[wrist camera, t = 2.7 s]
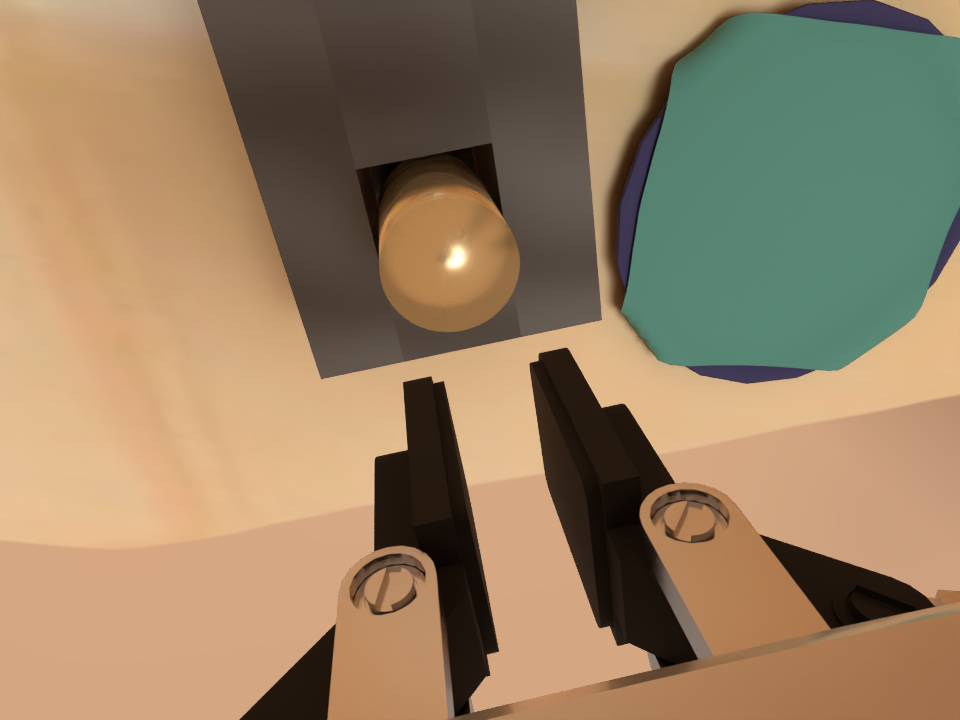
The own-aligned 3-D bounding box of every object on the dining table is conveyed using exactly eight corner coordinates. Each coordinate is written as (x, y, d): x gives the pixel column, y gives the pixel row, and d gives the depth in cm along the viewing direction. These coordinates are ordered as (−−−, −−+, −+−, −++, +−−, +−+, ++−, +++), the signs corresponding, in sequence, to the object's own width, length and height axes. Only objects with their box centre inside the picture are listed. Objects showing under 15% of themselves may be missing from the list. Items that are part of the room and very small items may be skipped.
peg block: (167, -248, 24) (80, -356, 17) (493, -303, 24) (541, -430, 17) (332, 303, 34) (321, 379, 27) (556, 257, 35) (601, 319, 28)
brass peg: (366, 164, 26) (363, 214, 19) (477, 142, 26) (509, 184, 20) (392, 270, 28) (397, 344, 22) (494, 249, 28) (528, 316, 22)
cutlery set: (575, 364, 39) (586, 383, 37) (708, -333, 25) (737, -363, 23) (875, 372, 42) (900, 390, 40) (1135, -239, 28) (1194, -258, 26)
